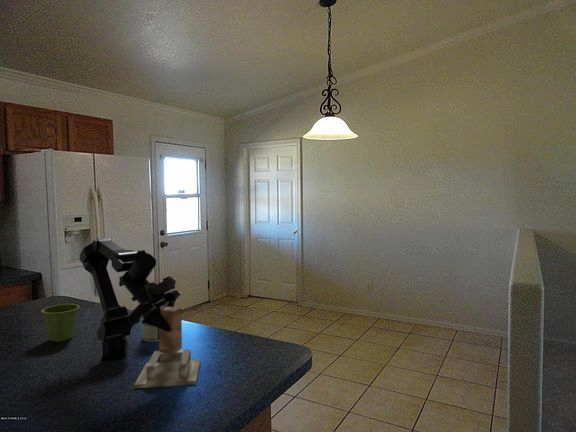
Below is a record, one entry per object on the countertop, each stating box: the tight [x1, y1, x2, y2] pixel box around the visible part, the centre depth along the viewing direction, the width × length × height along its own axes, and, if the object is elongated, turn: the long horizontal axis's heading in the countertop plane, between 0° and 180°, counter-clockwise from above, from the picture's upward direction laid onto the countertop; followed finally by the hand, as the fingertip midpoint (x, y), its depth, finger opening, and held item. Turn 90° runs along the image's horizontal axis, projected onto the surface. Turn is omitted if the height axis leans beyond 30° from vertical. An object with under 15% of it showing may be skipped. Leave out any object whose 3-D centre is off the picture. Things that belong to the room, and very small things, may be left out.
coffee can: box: [141, 316, 159, 343], centre depth 138 cm, size 10×10×14 cm
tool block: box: [133, 348, 202, 389], centre depth 108 cm, size 16×14×5 cm
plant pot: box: [41, 303, 81, 343], centre depth 136 cm, size 12×12×11 cm
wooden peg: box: [158, 306, 183, 354], centre depth 108 cm, size 4×4×12 cm
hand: (174, 328), depth 107 cm, fingers closed on wooden peg, 4 cm apart
